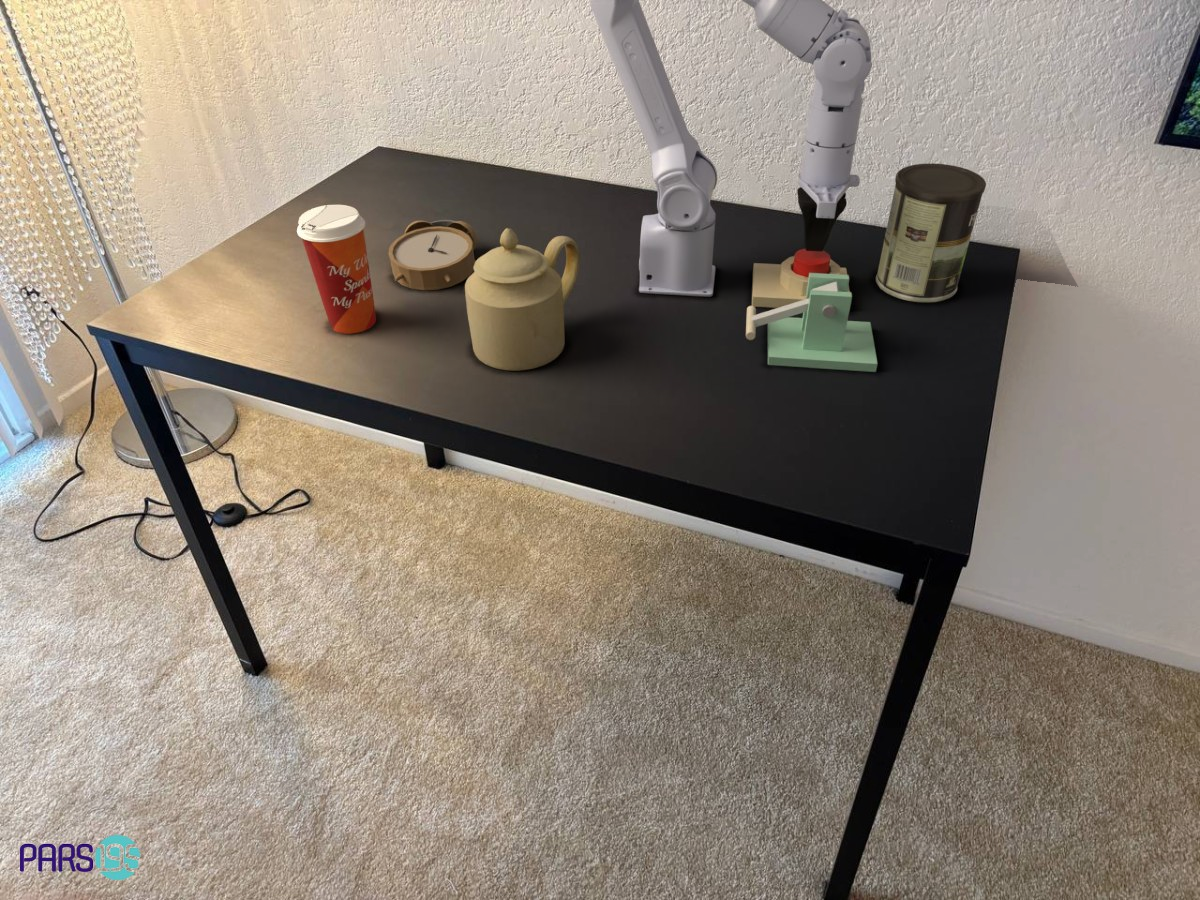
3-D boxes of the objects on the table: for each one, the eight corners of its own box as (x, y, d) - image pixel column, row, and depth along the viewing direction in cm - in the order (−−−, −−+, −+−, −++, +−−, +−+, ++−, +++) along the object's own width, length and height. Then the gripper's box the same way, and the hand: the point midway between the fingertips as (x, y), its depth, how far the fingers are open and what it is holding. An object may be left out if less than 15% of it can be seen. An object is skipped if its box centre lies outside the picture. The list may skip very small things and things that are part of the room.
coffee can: (952, 268, 115) (980, 164, 106) (961, 306, 107) (992, 198, 98) (872, 262, 117) (893, 160, 108) (876, 299, 109) (899, 193, 100)
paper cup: (353, 344, 103) (328, 236, 94) (308, 328, 106) (279, 221, 98) (398, 315, 108) (377, 210, 99) (353, 300, 112) (330, 197, 103)
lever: (749, 345, 99) (742, 329, 97) (750, 319, 103) (743, 302, 102) (844, 317, 95) (838, 299, 93) (841, 290, 99) (835, 272, 98)
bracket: (767, 365, 98) (775, 301, 93) (767, 324, 105) (775, 262, 100) (875, 372, 97) (890, 307, 91) (868, 330, 104) (881, 268, 98)
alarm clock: (377, 270, 111) (404, 203, 121) (386, 300, 115) (412, 233, 125) (462, 273, 110) (483, 205, 120) (468, 302, 114) (488, 234, 124)
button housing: (751, 306, 108) (754, 282, 106) (752, 272, 115) (755, 248, 113) (849, 312, 107) (854, 287, 105) (844, 277, 114) (848, 253, 111)
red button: (793, 278, 108) (795, 263, 106) (792, 261, 111) (794, 247, 110) (829, 280, 107) (831, 265, 106) (827, 263, 110) (829, 249, 109)
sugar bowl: (502, 302, 111) (490, 189, 101) (584, 311, 108) (581, 197, 99) (458, 365, 99) (440, 245, 90) (549, 377, 97) (541, 256, 88)
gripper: (872, 164, 92) (851, 278, 101) (861, 118, 103) (843, 224, 112) (805, 162, 93) (790, 275, 102) (801, 117, 104) (788, 222, 113)
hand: (813, 248), depth 107 cm, fingers closed
